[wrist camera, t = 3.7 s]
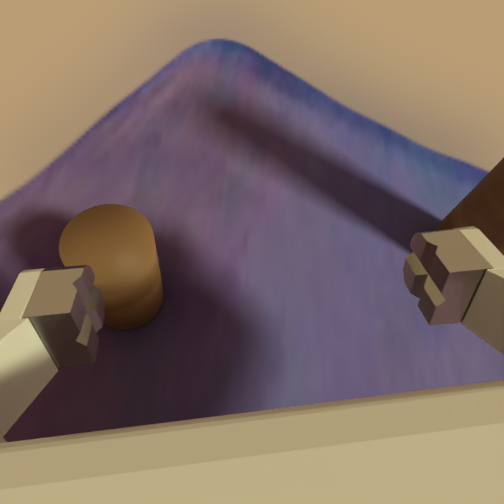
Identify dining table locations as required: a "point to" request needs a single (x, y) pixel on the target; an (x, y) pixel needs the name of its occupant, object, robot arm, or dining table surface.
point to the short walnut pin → (117, 262)
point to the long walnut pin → (482, 208)
